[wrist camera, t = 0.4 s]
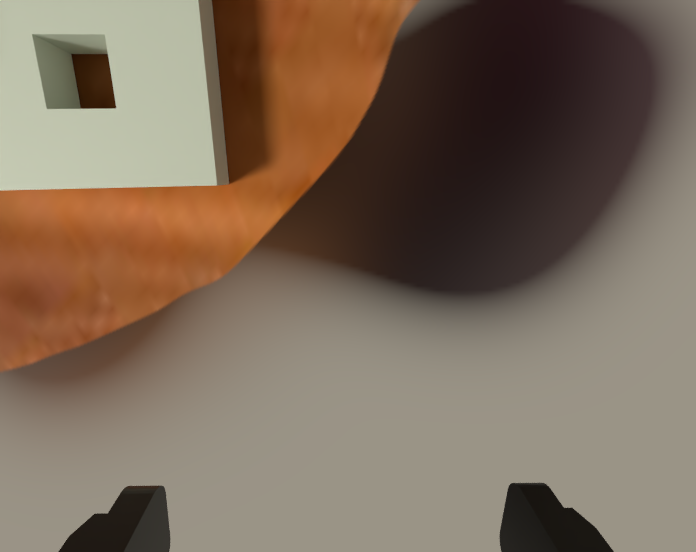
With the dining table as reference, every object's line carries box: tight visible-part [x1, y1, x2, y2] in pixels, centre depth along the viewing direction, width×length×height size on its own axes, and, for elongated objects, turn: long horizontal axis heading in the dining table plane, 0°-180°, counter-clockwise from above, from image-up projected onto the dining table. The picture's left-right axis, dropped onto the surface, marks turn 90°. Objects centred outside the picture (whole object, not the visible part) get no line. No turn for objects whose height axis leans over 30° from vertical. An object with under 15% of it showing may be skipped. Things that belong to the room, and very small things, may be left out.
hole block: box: [0, 0, 229, 190], centre depth 30 cm, size 16×18×4 cm
